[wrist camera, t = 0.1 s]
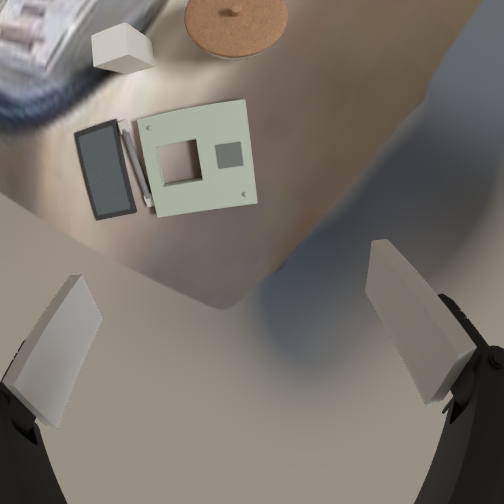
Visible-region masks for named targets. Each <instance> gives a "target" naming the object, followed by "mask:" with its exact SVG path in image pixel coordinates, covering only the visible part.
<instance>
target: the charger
mask: <svg viewBox="0 0 504 504" xmlns="http://www.w3.org/2000/svg"><path fill="white" fill-rule="evenodd" d="M91 37H92V52H93V64H94V67H97V68H102V69H106V70H111V71H115V72H120V73H124V74H130V73H133V72H136V71H140V70H143V69H147V68H150V67H154V66H155V64H154V55H153V46H152V41H151V40H150V39H149V38H147V37H146V36H144V35H143V34H142V33H140V32H139V31H137V30H136V29H134V28H133V27H132V26H130V25H129V24H127V23H126V22H125V23H122V24H119V25H117V26H114V27H111V28H109V29H106V30H104V31H101V32H99V33H96V34H94V35H92V36H91Z"/></svg>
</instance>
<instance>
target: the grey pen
mask: <svg viewBox="0 0 504 504" xmlns="http://www.w3.org/2000/svg"><path fill="white" fill-rule="evenodd" d="M118 126H119V129H120V132H121V135H122V134H123V137H124V140H125V143H126V146H127V149H128V152H129V155H130V158H131V160H132V163H133V166H134V169H135V172H136V174H137V177H138V180H139V182H140V185H141V188H142V190H143V193H144V199H145V201H146V204H147V206H148V207H151V206H154V201H153V196H152V192H151V193H150V191H149V188H148V185H147V183H146V180H145V177H144V175H143V172H142V169H141V166H140V164H139V161H138V158H137V155H136V152H135V149H134V146H133V143H132V140H131V137H130V134H129V131H130V130H129V126H128V123H127V120H123V121H121V122H119V123H118Z"/></svg>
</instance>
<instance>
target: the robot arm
mask: <svg viewBox="0 0 504 504" xmlns="http://www.w3.org/2000/svg"><path fill="white" fill-rule="evenodd" d="M365 293H366V294H367V296H368V298H369V299H370V301H371V303H372V304H373V306H374V308H375V310H376V312H377V313H378V315H379V317H380V319H381V320H382V322H383V324H384V325H385V327H386V329H387V331H388V333H389V335H390V336H391V338H392V340H393V342H394V344H395V346H396V347H397V349H398V351H399V353H400V355H401V357H402V359H403V361H404V363H405V365H406V367H407V369H408V370H409V372H410V374H411V376H412V378H413V380H414V383H415V385H416V387H417V389H418V391H419V393H420V395H421V397H422V399H423V401H424V403H425V406H426V407H427V406H429V405H431V404H434V403H436V402H439V401H441V400H443V399H444V398H445V396H446V395H447V393H448V392H449V391H450V390H451V392H452V394H453V397H452V399H451V400H450V401H449V403H448V404H447V405H446V406H445V408H444V409H443V411H442V413H443V414H444V413H445V412H446V411H447V410H448V413H447V417H446V421H445V425H444V428H443V431H442V434H441V438H440V441H439V444H438V447H437V450H436V453H435V456H434V458H433V461H432V464H431V466H430V469H429V472H428V474H427V476H426V479H425V481H424V483H423V486H422V488H421V490H420V492H419V494H418V497H417V499H416V501H415V503H414V504H504V349H503V348H501V347H499V346H489V345H488V344H487V343H486V341H485V340H484V339H483V337H482V336H481V335H480V334H479V332H478V331H477V329H476V328H475V327H474V325H473V324H472V323H471V322H470V320H469V319H467V317H466V315H465V314H464V313H463V312H461V309H460V308H459V307H458V306H457V304H456V303H455V302H454V301H453V300H452V299H450V298H449V297H447V296H446V295H444V294H439V295H437V294H436V293H435V292H434V291H433V290H432V288H431V287H430V286H429V285H428V284H427V282H426V281H425V280H424V279H423V278H422V277H421V276H420V274H419V273H418V272H417V271H416V270H415V269H414V268H413V267H412V266H411V264H410V263H409V262H408V261H407V260H406V259H405V258H404V257H403V256H402V254H401V253H399V251H398V250H397V249H396V248H395V247H394V246H393V245H392V244H391V243H390V242H389V241H388V240H387V239H384V240H376V241H372V244H371V253H370V262H369V269H368V277H367V283H366V290H365ZM102 320H103V318H102V316H101V314H100V312H99V310H98V308H97V306H96V304H95V302H94V300H93V298H92V296H91V294H90V292H89V289H88V287H87V285H86V282H85V280H84V278H83V276H82V274H80V275H71V276H70V277H69V278H68V279H67V281H66V282H65V283H64V285H63V286H62V287H61V289H60V290H59V291H58V293H57V294H56V295H55V297H54V298H53V300H52V301H51V302H50V304H49V305H48V307H47V308H46V310H45V311H44V313H43V314H42V315H41V317H40V319H39V320H38V322H37V323H36V325H35V326H34V328H33V329H32V331H31V333H30V334H29V336H28V337H27V339H26V340H25V341H23V343H22V344H21V346H20V348H19V349H18V353H16V355H15V356H14V360H12V362H11V363H10V365H9V367H8V369H7V371H6V372H5V374H4V376H3V378H2V380H1V382H0V504H67V502H66V500H65V497H64V495H63V493H62V491H61V489H60V486H59V484H58V482H57V479H56V477H55V475H54V472H53V469H52V467H51V464H50V461H49V458H48V455H47V452H46V449H45V446H44V443H43V440H42V436H41V433H40V429H39V427H38V425H37V424H36V423H35V422H34V421H35V419H36V417H37V418H38V419H39V420H40V421H41V422H42V423H43V424H44V425H46V426H50V427H53V428H56V429H58V427H59V424H60V421H61V418H62V415H63V412H64V409H65V407H66V404H67V401H68V399H69V396H70V393H71V390H72V388H73V386H74V383H75V381H76V378H77V375H78V373H79V371H80V368H81V366H82V364H83V361H84V359H85V357H86V354H87V352H88V350H89V348H90V345H91V343H92V341H93V339H94V337H95V335H96V333H97V330H98V328H99V326H100V324H101V322H102ZM448 408H449V409H448Z"/></svg>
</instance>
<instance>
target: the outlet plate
mask: <svg viewBox="0 0 504 504" xmlns="http://www.w3.org/2000/svg"><path fill="white" fill-rule="evenodd" d="M137 123H138V128H139V134H140V140H141V145H142V150H143V155H144V160H145V165H146V170H147V174H148V179H149V183H150V188H151V192H152V196H153V201H154V205H155V209H156V213H157V217H158V218H159V217H165V216H171V215H177V214H184V213H190V212H197V211H204V210H211V209H218V208H225V207H232V206H240V205H248V204H256V203H257V195H256V186H255V177H254V169H253V160H252V152H251V143H250V135H249V127H248V119H247V110H246V102H245V100H236V101H229V102H221V103H215V104H208V105H202V106H197V107H191V108H186V109H181V110H176V111H171V112H167V113H162V114H158V115H154V116H150V117H146V118H142V119H138V120H137ZM193 139H196V141H197V148H198V154H199V160H200V166H201V172H202V178H198V179H192V180H186V181H180V182H175V183H169V184H165V182H164V177H163V172H162V167H161V162H160V157H159V152H158V146H162V145H167V144H172V143H177V142H182V141H187V140H193Z"/></svg>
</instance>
